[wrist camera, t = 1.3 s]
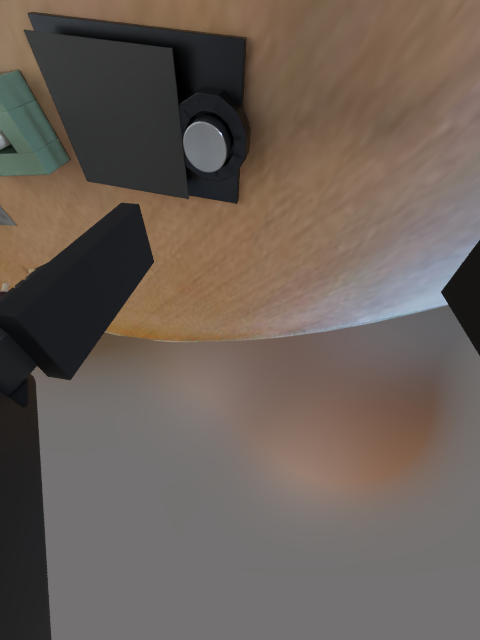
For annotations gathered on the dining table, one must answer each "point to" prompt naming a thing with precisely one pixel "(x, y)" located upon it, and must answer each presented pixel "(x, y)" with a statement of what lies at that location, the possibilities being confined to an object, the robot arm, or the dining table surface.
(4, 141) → the gray cylindrical rod
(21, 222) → the dining table surface
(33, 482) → the robot arm
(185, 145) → the button
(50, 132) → the pen stand
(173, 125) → the screen
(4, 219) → the dice set
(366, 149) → the dining table surface
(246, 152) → the tablet
